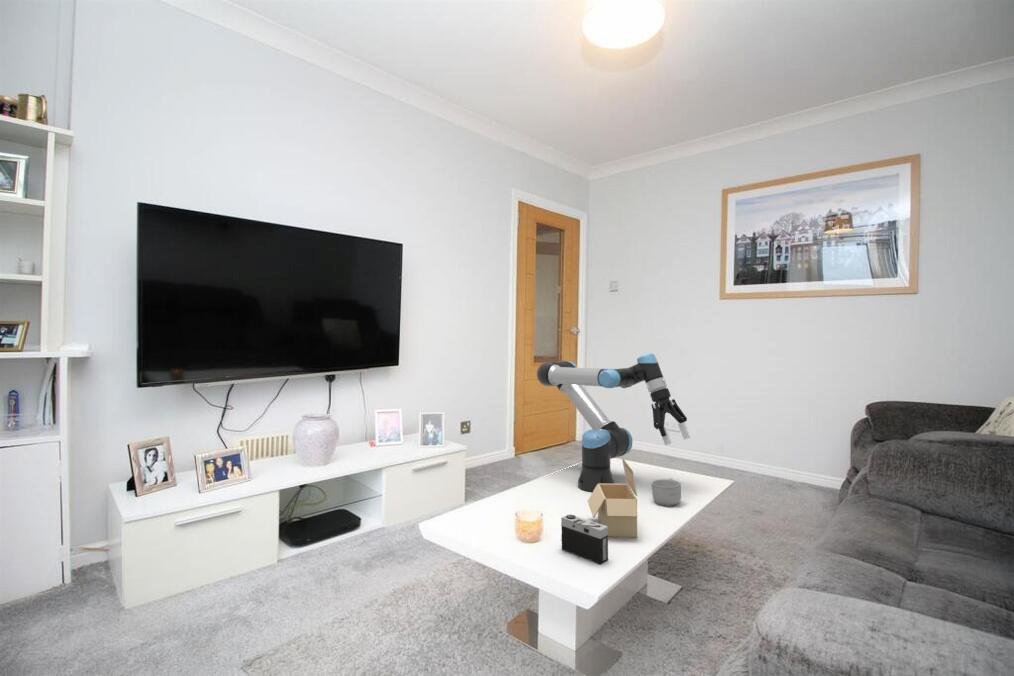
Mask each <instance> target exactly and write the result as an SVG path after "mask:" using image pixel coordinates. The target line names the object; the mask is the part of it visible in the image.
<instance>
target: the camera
mask: <svg viewBox="0 0 1014 676" xmlns="http://www.w3.org/2000/svg"><path fill="white" fill-rule="evenodd" d="M560 524H561V525H560V526H561V537H560V538H561V539H560V541H561V550H562V551H565V552H567V553H571V554H573V555H576V556H578V557H580V558H583V559H586V560H589V561H591V562H594V563H596V564H599V565H602V564H604V563H606V562H608V560H609V537H608V526H605V525H602V524H600V522H599V523H598V522H596V521H592V520H589V519H586V518H583V517H580V516H576V515H575V514H570V513H569V514H566V515H563V516H561V522H560Z"/></svg>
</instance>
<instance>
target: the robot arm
mask: <svg viewBox="0 0 1014 676" xmlns="http://www.w3.org/2000/svg"><path fill="white" fill-rule="evenodd" d="M636 361H637V363H636V364H634V365H632V366H630V367H622V368H594V367H578V366H577V365H576V364H575V363H574V362H572V361H569V360H561V361H560V360H559V361H546V362H543V363H541V364H540V365H539V367H537V370H536V378H537V380H538V382H539V384H541V385H543V386H545V387H556V388H557V389H558V391H559V392H560V393H563V394H566V396H567V397H568V398H569V400H570V401H571V402H572V404H573V405H574V407H575V408H576V409H577V411H578V412H579V413H580V415H581V416H582V418H584V420H585V421H586V423H587V424H588V425H589V426H590V428H591V429H588V430H586V431H584V432H583V434H582V437H581V463H582V464H581V467H582V468H581V469H580V470H581V471H580V472H579V473H580V474H579V476H578V481H577V487H578V488H579V489H580V490H583V491H585V492H591V493H593V491H594V489H595V487H596V486H597V484H616V483H615V480H614V477H613V474H612V470H611V460H612V459H614V458H619V457H623V456H625V455H626V454H628V453H629V452H630V451H631V450H632V448H633V437H632V434H631V433H630V431H629V430H627V428H624V427H620V426H619V425H618V423H616V421H614V420H610V419H609V418H608V417H607V415H606V414H605V412H604V411H603V410H602V409H601V407H600V406H599V405H598V404H597V403H596V401H595V399H594V398H593V397H592V396H591V394H589V392H588V391H587V390H586V388H585V387H584V386H589V387H590V386H591V387H602V388H606V389H614V388H622V389H626V388H631V387H633V386H635V385H637V384H640V383H641V382H645V385H646V388H647V390H648V392H649V396H650V398H651V401H652V402H653V403H651V405H650V406H651V409H652V418H653V420H652V421H653V428H654V429H656V430H659V433H660V436H661V437H662V440H663V443H664V445H665V446H667V445H671V444H673V441H672V439H671V437H670V434H669V431H668V429H667V426H665V420H666V414H667V413H668V414H669V415H671V416H672V417H673V418H674V419H675V420H676V422H677V423H678V428H679V430H680V432H681V435H682V438H683V440H688V439H691V435H690V432H689V430H688V427H687V424H686V423H687V422H688V418H687V416H686V414H685V413H684V412H683V410H682V409H681V408H680V406H679V405H678V403H677V402H676V399H674V398H673V399H670V398H671V397H672V396H671V393H670V390H669V388H668V385H667V383H666V380H665V378H664V375H663V373H662V372H663V371H662V370H661V367H660V364H659V361H658V359H657V357H656V355H655V354H654V353H652V352H650V353H649V352H648V353H645V354H642V355H640V356H638V357H636Z"/></svg>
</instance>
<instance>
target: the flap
mask: <svg viewBox="0 0 1014 676" xmlns="http://www.w3.org/2000/svg"><path fill="white" fill-rule="evenodd" d="M621 459H622V460H621V461H622V465H623V470H624V475H625V482H626V484H627V485H628V487H629V488H630V490H631V491H632V493H633V494H634V496H635V497H637V496H638V493H637V489H636V484H635V483H636V482H635V478H634V471H633V470H632V468H631V467H630V466H629V464H628V463H627V462H626V461H625V459H624V458H621Z"/></svg>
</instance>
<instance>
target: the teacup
mask: <svg viewBox="0 0 1014 676" xmlns="http://www.w3.org/2000/svg"><path fill="white" fill-rule="evenodd" d="M650 485H651V494H652V499H653V500H654V501H655V502H657V504H659V505H662V506H666V505H667V506H674V505H676V504H677V503H679V502H680V501H681V500H682V483H681V482H680V481H679V480H675V479H673V478H670V477H669V478H659V479H654V480H652V481H651V482H650Z"/></svg>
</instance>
